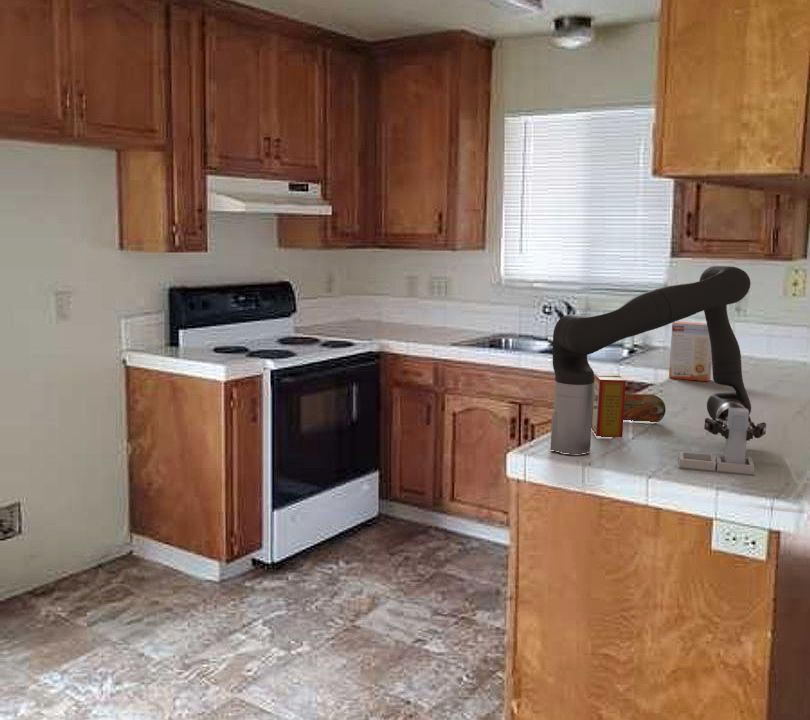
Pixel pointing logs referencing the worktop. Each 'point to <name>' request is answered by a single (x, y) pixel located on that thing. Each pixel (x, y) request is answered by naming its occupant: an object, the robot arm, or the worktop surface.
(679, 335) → the cracker box
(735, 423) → the plug
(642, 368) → the worktop surface
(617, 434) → the baking soda box
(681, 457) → the grey divided tray
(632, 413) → the tin
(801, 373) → the worktop surface
